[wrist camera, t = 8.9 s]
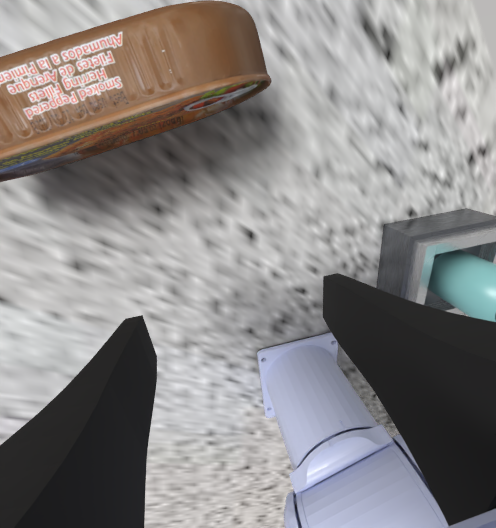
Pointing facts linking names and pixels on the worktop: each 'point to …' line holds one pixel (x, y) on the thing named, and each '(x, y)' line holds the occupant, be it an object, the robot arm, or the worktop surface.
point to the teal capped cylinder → (465, 283)
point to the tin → (125, 83)
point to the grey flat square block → (431, 251)
